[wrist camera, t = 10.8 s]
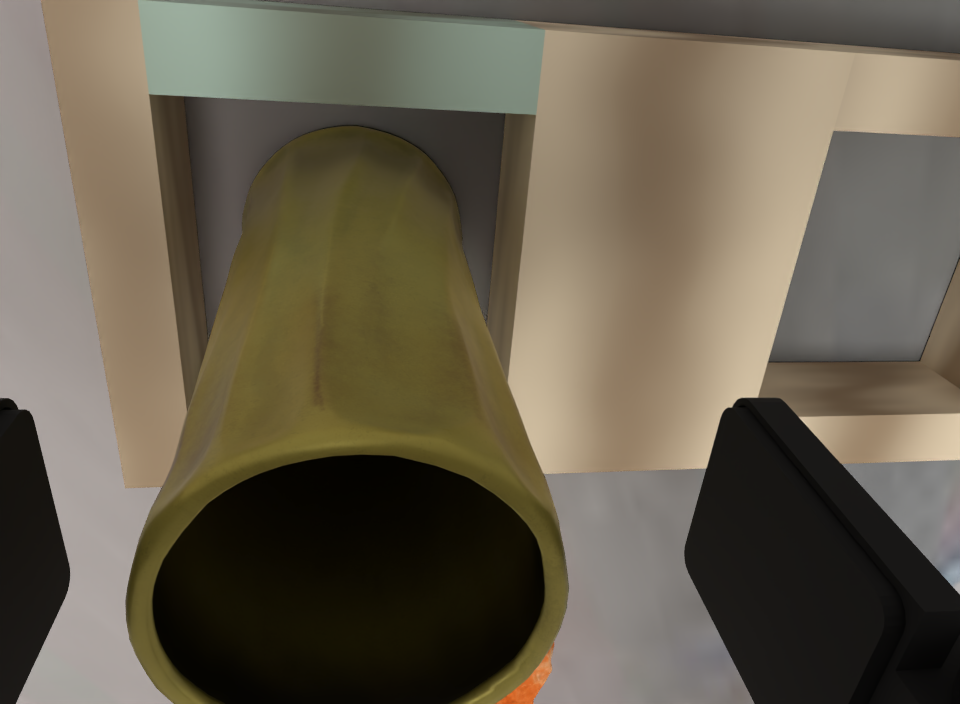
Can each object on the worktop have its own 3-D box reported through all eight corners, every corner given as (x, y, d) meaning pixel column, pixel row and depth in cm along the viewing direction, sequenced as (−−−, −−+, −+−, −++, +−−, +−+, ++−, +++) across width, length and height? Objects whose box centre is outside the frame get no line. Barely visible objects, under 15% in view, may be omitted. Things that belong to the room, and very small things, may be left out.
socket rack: (1087, 63, 22) (1205, 78, 19) (945, 403, 28) (1019, 457, 25) (93, -12, 18) (39, -8, 14) (154, 418, 23) (124, 487, 20)
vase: (471, 311, 23) (613, 726, 10) (272, 344, 22) (173, 821, 10) (445, 109, 20) (599, 349, 8) (216, 142, 20) (-23, 455, 7)
